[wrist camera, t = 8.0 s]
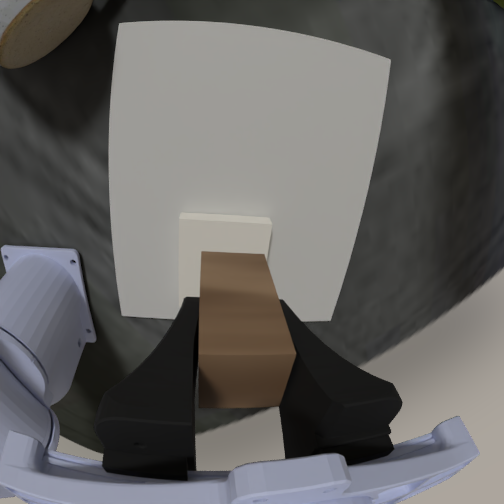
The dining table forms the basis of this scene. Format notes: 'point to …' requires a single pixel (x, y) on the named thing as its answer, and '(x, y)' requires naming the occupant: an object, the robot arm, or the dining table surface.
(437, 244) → the dining table surface
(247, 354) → the wooden block
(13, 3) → the ceramic mug
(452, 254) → the dining table surface
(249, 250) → the tile
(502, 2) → the plant pot
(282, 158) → the mat
